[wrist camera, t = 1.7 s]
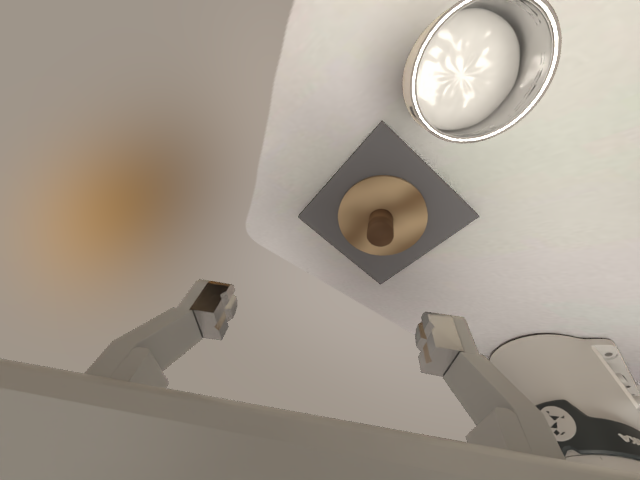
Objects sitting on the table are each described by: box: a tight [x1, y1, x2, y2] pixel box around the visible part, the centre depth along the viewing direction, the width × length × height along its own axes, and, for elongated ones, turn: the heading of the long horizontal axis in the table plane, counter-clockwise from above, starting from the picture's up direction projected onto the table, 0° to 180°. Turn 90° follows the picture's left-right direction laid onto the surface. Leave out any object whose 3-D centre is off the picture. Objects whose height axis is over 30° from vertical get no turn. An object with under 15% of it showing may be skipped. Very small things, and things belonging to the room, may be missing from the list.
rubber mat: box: [298, 121, 479, 284], centre depth 34 cm, size 16×16×1 cm
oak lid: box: [338, 175, 428, 256], centre depth 31 cm, size 11×11×5 cm
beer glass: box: [402, 0, 562, 143], centre depth 19 cm, size 7×7×15 cm
